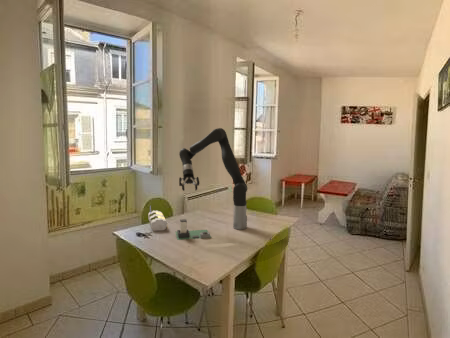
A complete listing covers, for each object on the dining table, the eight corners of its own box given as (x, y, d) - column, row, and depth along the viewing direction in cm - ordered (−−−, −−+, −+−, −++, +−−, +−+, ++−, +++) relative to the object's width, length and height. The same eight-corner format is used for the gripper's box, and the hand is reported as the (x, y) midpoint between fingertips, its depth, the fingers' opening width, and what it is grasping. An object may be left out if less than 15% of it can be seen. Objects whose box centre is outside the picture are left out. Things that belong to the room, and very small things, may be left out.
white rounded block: (148, 220, 244) (148, 204, 242) (161, 219, 247) (161, 203, 245) (151, 231, 220) (151, 213, 218) (166, 230, 224) (166, 212, 222)
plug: (185, 234, 209) (185, 219, 208) (186, 236, 206) (186, 220, 204) (179, 235, 208) (179, 219, 207) (180, 237, 205) (180, 221, 203)
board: (206, 231, 221) (206, 225, 220) (211, 239, 205) (211, 233, 205) (175, 233, 215) (175, 227, 215) (177, 242, 200) (177, 235, 199)
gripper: (178, 168, 225) (180, 187, 216) (198, 168, 229) (200, 186, 219) (177, 174, 231) (179, 193, 222) (197, 174, 234) (199, 192, 225)
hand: (190, 190), depth 220 cm, fingers open, 8 cm apart
